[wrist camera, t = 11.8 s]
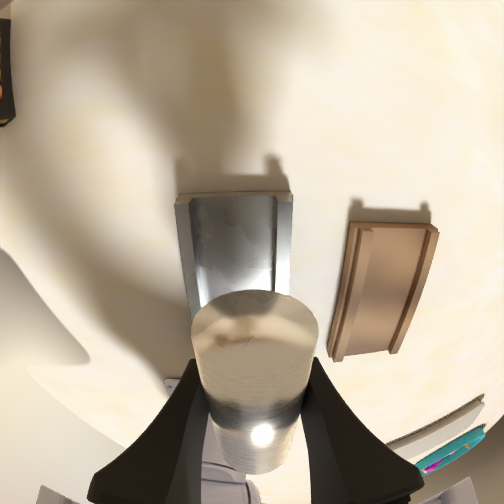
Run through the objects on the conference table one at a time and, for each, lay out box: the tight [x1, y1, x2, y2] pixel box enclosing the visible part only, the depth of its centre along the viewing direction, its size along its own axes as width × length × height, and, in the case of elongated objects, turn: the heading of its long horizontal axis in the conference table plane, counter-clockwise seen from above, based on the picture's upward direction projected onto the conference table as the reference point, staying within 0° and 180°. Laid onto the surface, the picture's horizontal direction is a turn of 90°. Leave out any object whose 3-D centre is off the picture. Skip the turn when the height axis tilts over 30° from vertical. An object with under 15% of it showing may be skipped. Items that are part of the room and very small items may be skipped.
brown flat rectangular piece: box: [327, 222, 440, 362], centre depth 19 cm, size 12×7×2 cm, turn 1°
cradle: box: [174, 191, 293, 322], centre depth 19 cm, size 14×7×2 cm, turn 1°
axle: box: [191, 289, 318, 474], centre depth 11 cm, size 10×4×4 cm, turn 0°
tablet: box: [387, 400, 485, 460], centre depth 39 cm, size 16×26×2 cm, turn 112°
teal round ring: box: [415, 427, 485, 476], centre depth 52 cm, size 30×30×6 cm
